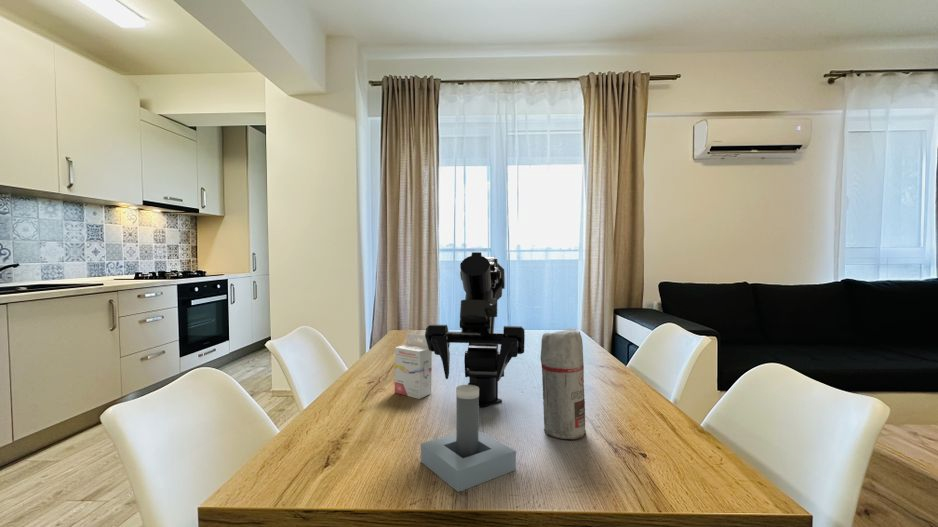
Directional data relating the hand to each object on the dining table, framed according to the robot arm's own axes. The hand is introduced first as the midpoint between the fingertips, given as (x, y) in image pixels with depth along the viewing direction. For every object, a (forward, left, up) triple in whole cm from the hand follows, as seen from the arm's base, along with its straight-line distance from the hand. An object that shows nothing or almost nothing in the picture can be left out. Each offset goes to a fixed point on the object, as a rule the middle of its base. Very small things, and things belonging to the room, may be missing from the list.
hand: (472, 379), depth 72 cm
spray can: (-19, +5, -12) cm, 23 cm away
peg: (+4, +5, -12) cm, 14 cm away
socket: (+4, +5, -12) cm, 14 cm away
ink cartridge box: (-6, -33, -12) cm, 36 cm away
